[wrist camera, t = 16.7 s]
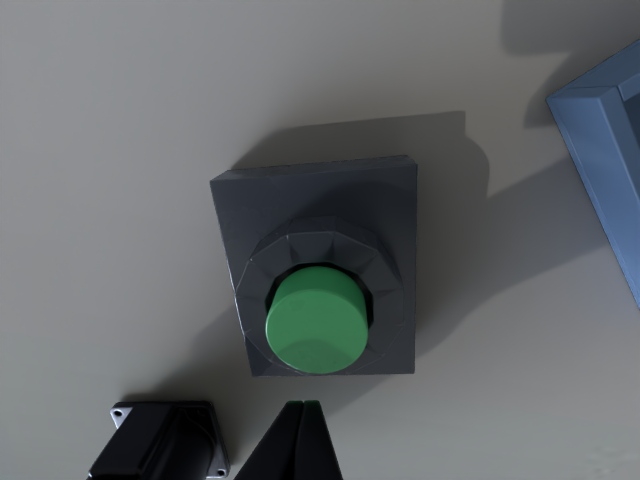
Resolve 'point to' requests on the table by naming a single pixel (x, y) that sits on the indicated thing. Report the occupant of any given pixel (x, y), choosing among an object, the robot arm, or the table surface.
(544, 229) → the table surface
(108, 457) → the robot arm
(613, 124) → the blue shallow square tray
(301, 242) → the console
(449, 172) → the table surface
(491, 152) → the table surface
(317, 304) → the button
